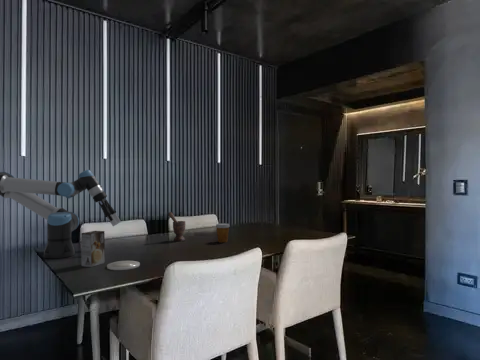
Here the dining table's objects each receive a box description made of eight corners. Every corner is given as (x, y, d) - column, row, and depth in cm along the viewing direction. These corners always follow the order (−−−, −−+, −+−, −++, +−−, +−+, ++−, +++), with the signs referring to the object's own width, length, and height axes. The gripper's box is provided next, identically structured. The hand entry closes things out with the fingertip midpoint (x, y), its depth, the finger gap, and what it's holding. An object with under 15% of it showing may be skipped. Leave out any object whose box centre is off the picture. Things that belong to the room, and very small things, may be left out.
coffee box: (95, 261, 176) (95, 230, 176) (105, 263, 173) (105, 231, 174) (80, 266, 167) (81, 232, 167) (91, 267, 165) (91, 233, 165)
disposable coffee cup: (231, 240, 238) (231, 223, 238) (227, 243, 229) (227, 225, 229) (218, 240, 241) (218, 222, 241) (213, 242, 232) (213, 224, 232)
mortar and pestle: (174, 242, 231) (174, 212, 231) (166, 241, 237) (166, 211, 237) (187, 240, 239) (187, 211, 240) (180, 239, 245) (180, 210, 245)
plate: (104, 271, 158) (104, 268, 158) (109, 263, 172) (109, 261, 172) (138, 269, 161) (138, 266, 161) (140, 262, 176) (140, 259, 176)
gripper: (99, 190, 195) (119, 222, 196) (107, 190, 219) (125, 218, 221) (87, 197, 193) (107, 229, 195) (96, 196, 218) (115, 225, 219)
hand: (117, 224), depth 208 cm, fingers open, 13 cm apart
